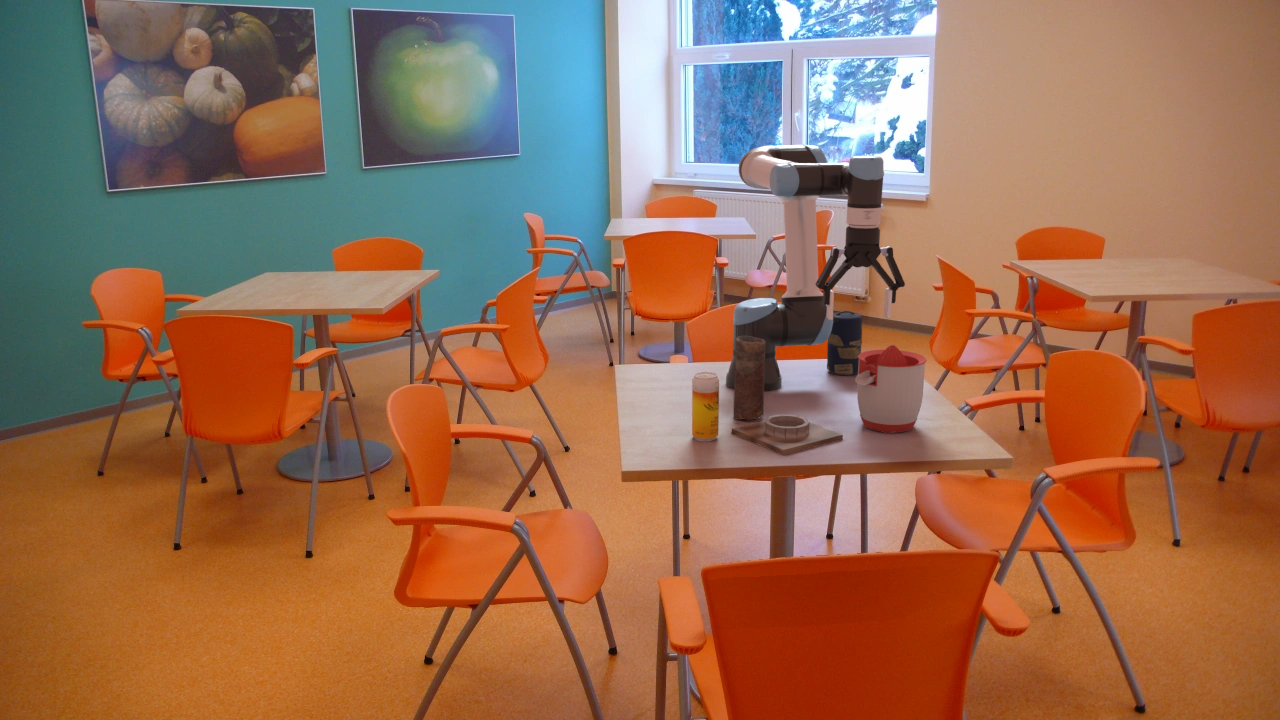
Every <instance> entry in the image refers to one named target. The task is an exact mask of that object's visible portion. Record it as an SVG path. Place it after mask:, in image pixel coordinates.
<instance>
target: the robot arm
mask: <svg viewBox="0 0 1280 720" xmlns="http://www.w3.org/2000/svg"><path fill="white" fill-rule="evenodd" d="M738 174H739V177H740V179H741V180H742V182H743V183H744V184H745V185H746V186H748V187H750V188H752V189H753V188H754V189H759V190H761V189H762V190H770V191H771V193H772V195H773V196H774V197H775V196H776V197H778V199H780V200H781V202H782V203H783V213H784V214H783V216H784V217H783V219H784V245H785V248H784V249H785V271H786V273H785V275H786V277H785V278H786V291H785V293H783V294H782V296H781V303H778V300H777V299H775V298H772V297H758V298H750V299H747V300H743V301H741V302H738V303H737V304H736V305H735V306H734V309H733V318H732V323H733V325H732V326H733V327H732V329H733V331H732V333H733V335H732V358H731V362H730V363H729V364H730V365H729V368H728V372H727V373H726V377H725V379H726V380H725V385H726V386H727V387H728V388H730V389H733V390H734V387H735V359H736V338H737V337H738V336H752V337H756V338H760V339H763V340H765V377H764V392H770V391H773V390H777V389H779V388H781V387H782V381H783V380H782V377H783V376H782V374H781V372H780V368H779V365H778V360H777V348H778V347H796V346H797V347H798V346H808V347H809V346H810V347H811V346H814V345H821V344H824V343H825V342H826V341H828V338H829V335H830V333H831V330H832V325H833V313H834V302H835V301H834V300H835V291H833V290H832V289H833V288H834V287H836V285H837V283H838V282H839V281H840V280H841V279H842V278H843V277H844V275H845V274H846V273H847V272H848V271H849V270H850V269H852V267H854V268H862V267H864V268H870V267H871V266H872V268H873V269H874V270H875V272H876V273H877V274H878V275H879V277H880V278H881V279H882V280H883V282H884V283H885V284H886V285H887V287H886V288H885V291H884V303H883V317H885V318H886V319H891V317H892V304H895V303H896V300H897V298H896V296H897V291H898V290H899V288H904V287H905V286H906V284H905V283H906V282H905V280H904V278H903V276H902V273H901V271H900V269H899V267H898V265H897V262H896V259H895V257H894V249H893V247H892V246H888V245H885V246H883V247H881V246H880V239H881V238H880V237H881V236H880V235H881V229H880V226H879V225H881V222H882V221H881V217H882V203H883V201H882V200H883V199H882V198H883V184H884V176H885V171H884V159H883V158H882V157H881V156H878V155H854V156H851V157H850V159H849V160H845V161H843V160H841V161H839V162H828V161H827V156H826V155H825V152H824V151H823V150H822V148H821V147H820V146H817V145H810V144H788V145H786V144H785V145H783V144H782V145H762V146H759V147H755V148H752V149H750V150H749V151H747V152H746V153H745V154H744V155H743V156H742V158H741V159H740V161H739V164H738ZM822 196H823V197H824V196H826V197H827V196H828V197H831V196H847V205H846V207H847V209H846V220H845V221H846V224H847V226H846V228H845V246H844V248H837V247H835V246H832V247H831V249H830V254H829V255H830V256H829V258H828V260H827V261H826V264H825V265H824V267H823V269H822V270H821V273H820V274H819V259H818V257H819V256H818V255H819V254H818V232H817V230H818V228H817V204H816V203H817V202H816V201H817V200H818V198H820V197H822ZM881 254H882V256H883V257H884V258H885V260H886V263H887V265H888V268H889V270H890V272H891V274H892V277H893V279H894V280H893V279H892V277H890V275H889V274H888V273H887V271H886V270H885V269H884V268H883V266H881V265H882V264H881V263H880V262H879V261H878V260H877V259H878V258H879V256H880V255H881ZM842 255H843V256H844V257H845V259H844V260H843V261H842V263H841V265H840V266H839V267H838V268H837V269H836V271H835V272H834V273H833V272H832V271H833V270H834V267H835V266H836V264H837V261H838V259H839V258H841V256H842ZM831 273H833V274H832V275H831ZM830 275H831V277H830ZM820 289H821V290H822V291H821V290H820Z"/></svg>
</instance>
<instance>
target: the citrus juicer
mask: <svg viewBox="0 0 1280 720" xmlns="http://www.w3.org/2000/svg"><path fill="white" fill-rule="evenodd" d="M858 359H859V367H858V373H857V375H856V377H855V379H854V380H855V381H854V382H855V383H856V384H857V387H856V389H857V390H856V391H857V397H856V398H857V404H858V410H859V411H858V412H859V416H860V419H861V422H862V424H863V426H865V427H866V428H867V429H870V430H872V431H873V430H874V431H877V432H883V434H884V433H885V434H892V433H902V432H904V433H905V432H908V431H911V430H912V429H913V428H914V425H915V424H916V423H917V420H918V417H919V414H920V411H921V407H922V404H923V397H924V385H925V384H924V383H925V370H926V368H925V367H926V363H927V358H926V356H924V355H921V354H920V353H917V352H912V351H908V350H907V351H906V350H900V349H899V348H898V347H897V346H896V345H895V344H890V345H889V346H888V347H886V348H885V349H870V350H866V351H861V353H860V354H859V355H858Z"/></svg>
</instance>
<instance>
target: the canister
mask: <svg viewBox="0 0 1280 720" xmlns="http://www.w3.org/2000/svg"><path fill="white" fill-rule="evenodd" d="M862 338H863V317H862V315H861V314H860V313H858V312H857V313H856V312H853V311H849V310H843V311H839V312H833V325H832V330H831V333H830V335H829V338H828V339H827V349H826V351H827V352H826V353H827V354H826V355H827V356H826V357H827V358H826V359H827V360H826V370H827V371H828V372H830V373H832V374H835V375H842V376H849V375H850V376H851V375H855V374H858V367H859V359H858V355H859V354H860V353H862V345H863V344H862V343H863V339H862Z"/></svg>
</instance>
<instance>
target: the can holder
mask: <svg viewBox="0 0 1280 720" xmlns="http://www.w3.org/2000/svg"><path fill="white" fill-rule="evenodd" d="M731 434H732V435H734V436H736V437H740V438H742V439H744V440H746V441H749V442H750V443H753V444H756V445H759V446H761V447H763V448H766V449H768V450H771V451H773V452H776V453H778V454H780V455H783V456H784V455H788V454H791V453H797V452H800V451H804V450H808V449H812V448H815V447H819V446H823V445H827V444H831V443H835V442H838V441H839V442H840V441H842V440H843V439H844V438H843V436H844V435H843V434H842V433H839V432H837V431H834V430H832V429H829V428H826V427H823V426H821V425H818V424H815V423H812V422H810V421H809V420H808V418H807V417H803V416H800V415H794V414H775V415H774V414H773V415H771V416H767V417H766V418H765V419H764V420H762V421H758V422H754V423H749V424H745V425H741V426H737V427H733V428H731Z"/></svg>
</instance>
